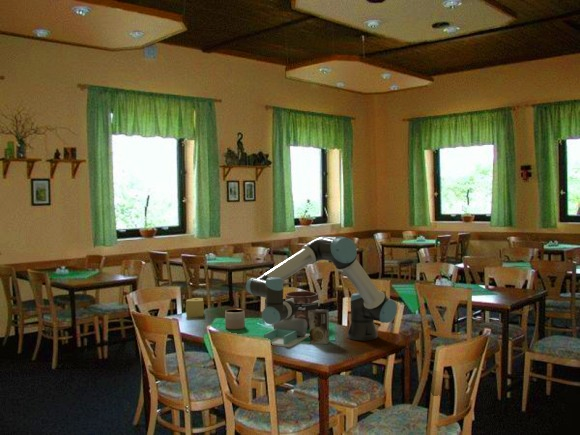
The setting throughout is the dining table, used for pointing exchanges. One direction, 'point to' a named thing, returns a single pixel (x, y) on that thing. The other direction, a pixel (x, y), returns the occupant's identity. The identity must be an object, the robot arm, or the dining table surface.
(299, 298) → the pottery
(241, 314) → the planter
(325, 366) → the dining table surface
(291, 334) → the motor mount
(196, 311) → the cheese
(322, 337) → the coffee box
